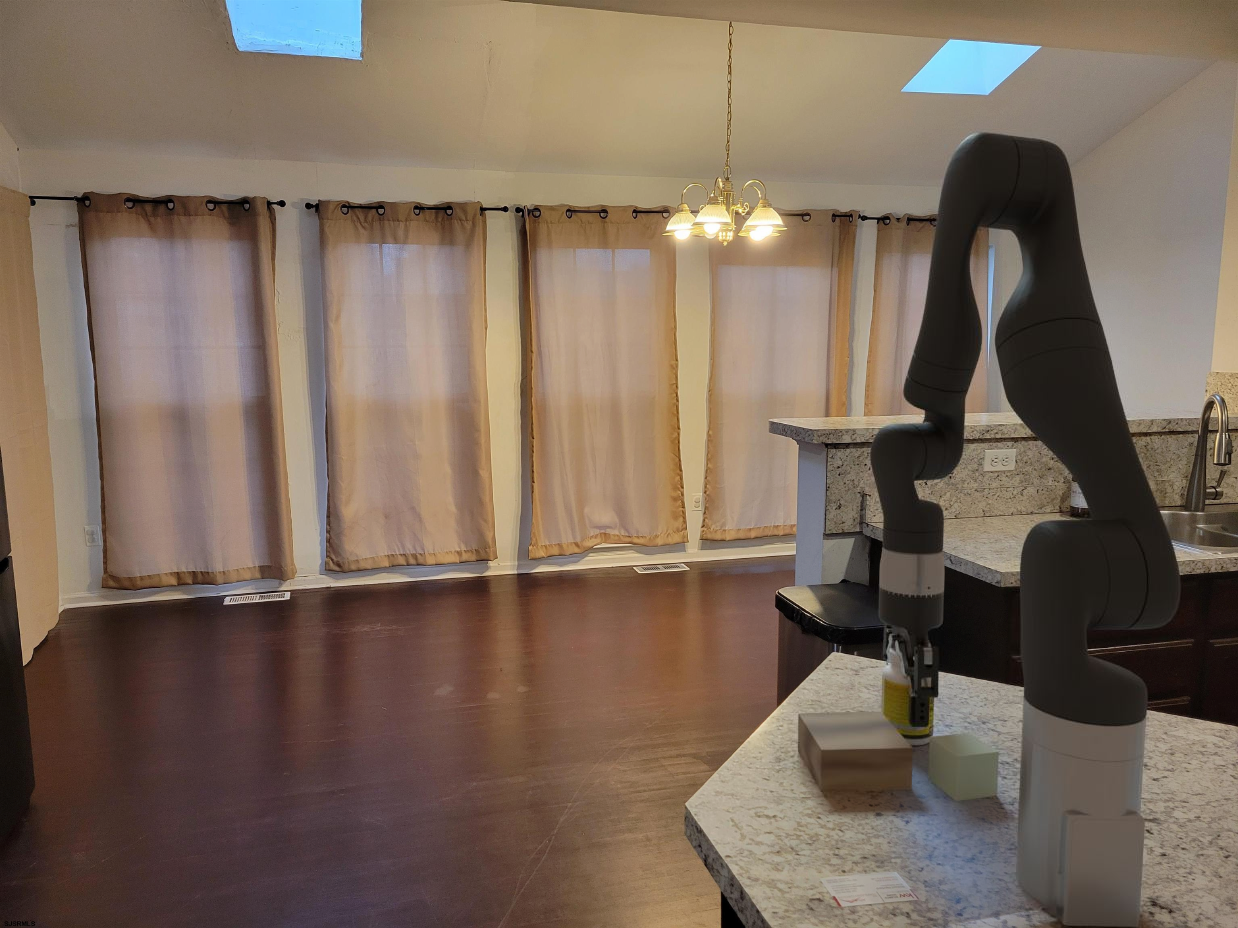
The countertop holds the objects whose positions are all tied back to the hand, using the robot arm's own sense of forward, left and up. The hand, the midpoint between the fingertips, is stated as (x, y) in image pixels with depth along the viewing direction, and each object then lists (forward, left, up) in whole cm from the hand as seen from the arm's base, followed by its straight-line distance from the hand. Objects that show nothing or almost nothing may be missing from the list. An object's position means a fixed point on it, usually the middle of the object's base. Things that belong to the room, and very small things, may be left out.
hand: (907, 711), depth 103 cm
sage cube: (-13, -2, -3) cm, 14 cm away
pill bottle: (0, 0, -3) cm, 3 cm away
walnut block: (-9, +9, -4) cm, 13 cm away
